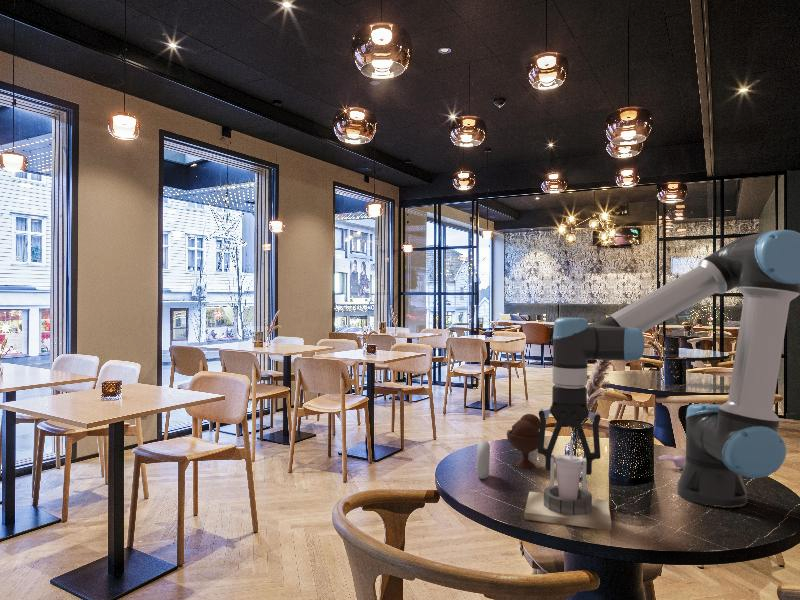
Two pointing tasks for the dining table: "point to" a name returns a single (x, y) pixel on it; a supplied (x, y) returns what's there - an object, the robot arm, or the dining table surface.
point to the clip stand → (568, 509)
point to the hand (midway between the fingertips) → (568, 486)
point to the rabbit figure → (675, 460)
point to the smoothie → (568, 474)
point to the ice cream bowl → (525, 438)
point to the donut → (483, 459)
